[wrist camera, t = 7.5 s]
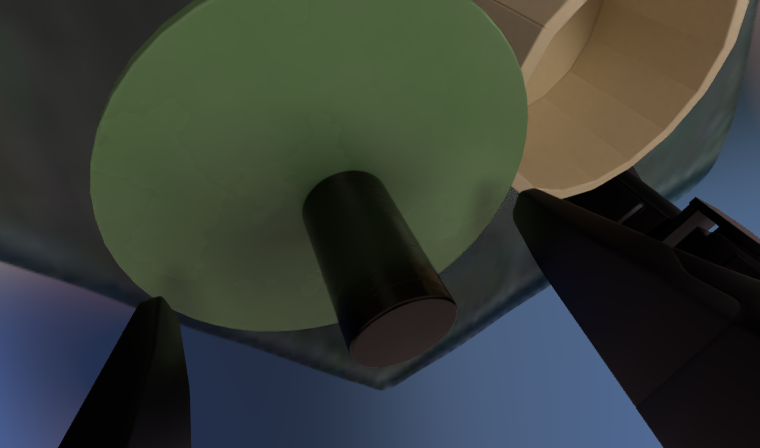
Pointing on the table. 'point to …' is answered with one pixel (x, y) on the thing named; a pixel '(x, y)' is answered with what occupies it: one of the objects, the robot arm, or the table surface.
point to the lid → (310, 163)
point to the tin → (608, 79)
